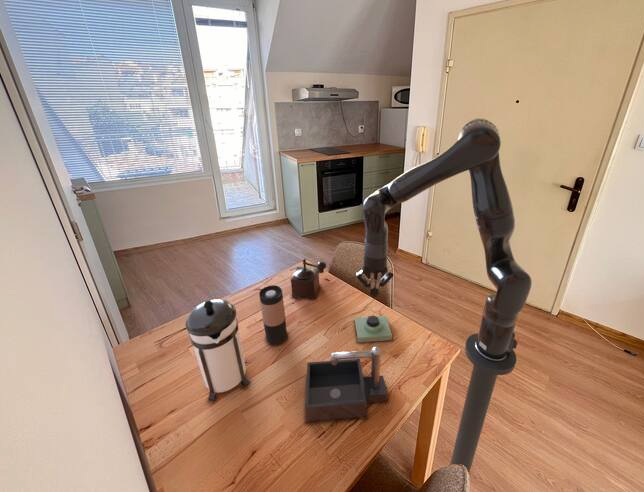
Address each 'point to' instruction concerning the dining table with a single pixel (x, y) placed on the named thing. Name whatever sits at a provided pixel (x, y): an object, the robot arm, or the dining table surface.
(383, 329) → the switch block
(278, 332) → the travel mug
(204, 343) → the coffee press
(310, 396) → the sink
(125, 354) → the dining table surface
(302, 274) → the manual coffee grinder
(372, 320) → the button
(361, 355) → the faucet
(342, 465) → the dining table surface
